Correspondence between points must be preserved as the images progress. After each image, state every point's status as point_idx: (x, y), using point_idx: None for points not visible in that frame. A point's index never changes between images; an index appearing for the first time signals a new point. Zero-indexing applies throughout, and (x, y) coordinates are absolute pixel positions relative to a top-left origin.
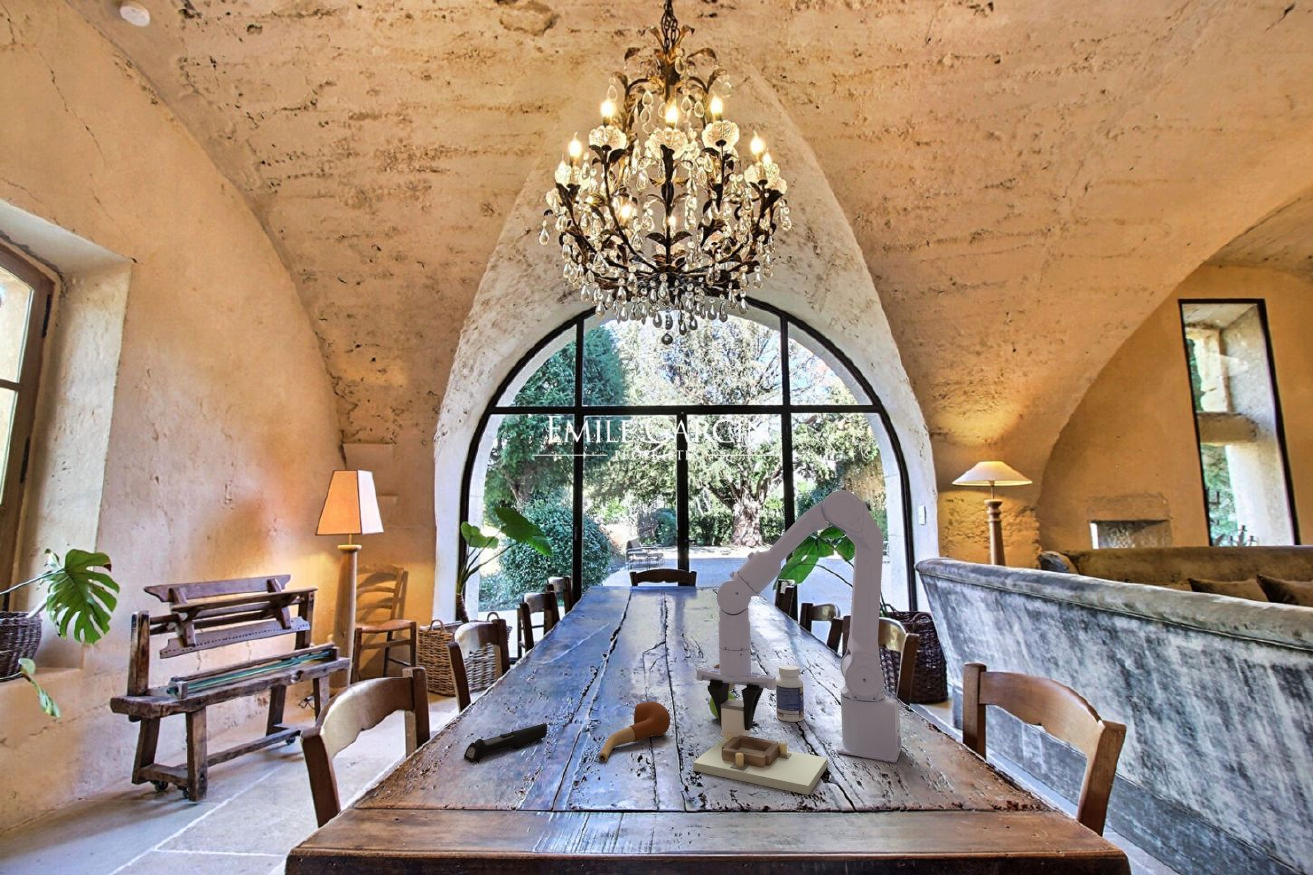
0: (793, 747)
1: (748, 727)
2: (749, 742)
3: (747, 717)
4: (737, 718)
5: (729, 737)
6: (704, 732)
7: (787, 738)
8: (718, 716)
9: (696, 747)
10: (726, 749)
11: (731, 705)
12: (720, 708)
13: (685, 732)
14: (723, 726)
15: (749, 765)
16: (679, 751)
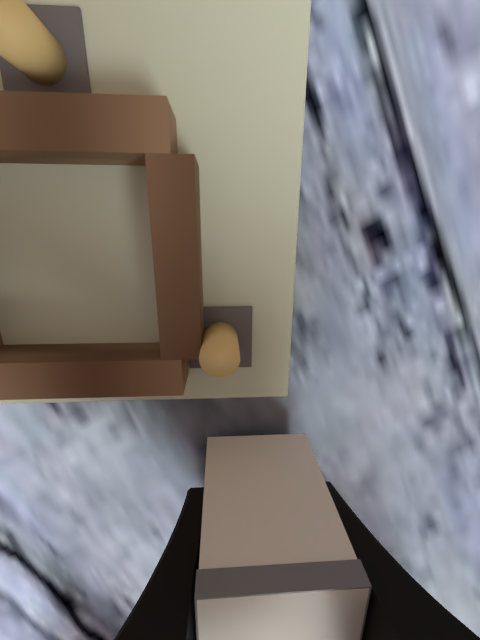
0: (35, 497)
1: (185, 501)
2: (114, 354)
3: (177, 543)
4: (234, 516)
5: (217, 335)
6: (393, 475)
7: (96, 557)
8: (356, 516)
9: (377, 321)
10: (145, 119)
11: (289, 599)
12: (363, 561)
13: (462, 443)
14: (308, 467)
15: None
16: (434, 240)
